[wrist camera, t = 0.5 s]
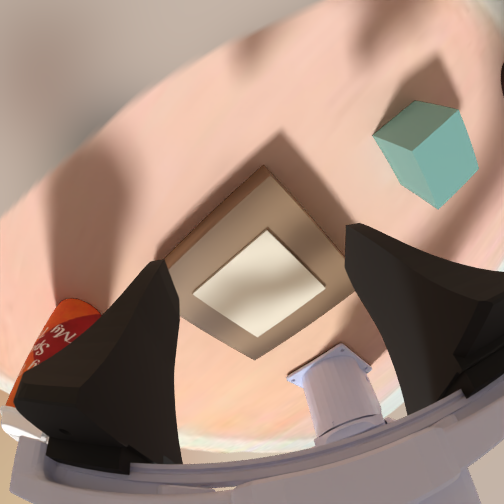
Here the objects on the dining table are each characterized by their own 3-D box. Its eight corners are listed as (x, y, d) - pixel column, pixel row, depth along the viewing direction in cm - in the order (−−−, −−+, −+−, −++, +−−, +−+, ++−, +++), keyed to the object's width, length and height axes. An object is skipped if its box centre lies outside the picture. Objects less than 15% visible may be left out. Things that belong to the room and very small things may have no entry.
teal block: (438, 150, 19) (478, 168, 15) (400, 184, 20) (438, 209, 16) (414, 100, 17) (458, 109, 12) (371, 135, 18) (412, 151, 14)
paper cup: (69, 275, 21) (5, 415, 9) (131, 327, 25) (106, 467, 13) (37, 311, 23) (-11, 425, 11) (91, 354, 26) (65, 467, 14)
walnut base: (350, 263, 24) (365, 285, 22) (250, 336, 28) (255, 362, 25) (262, 163, 19) (271, 176, 16) (151, 269, 22) (144, 294, 19)
